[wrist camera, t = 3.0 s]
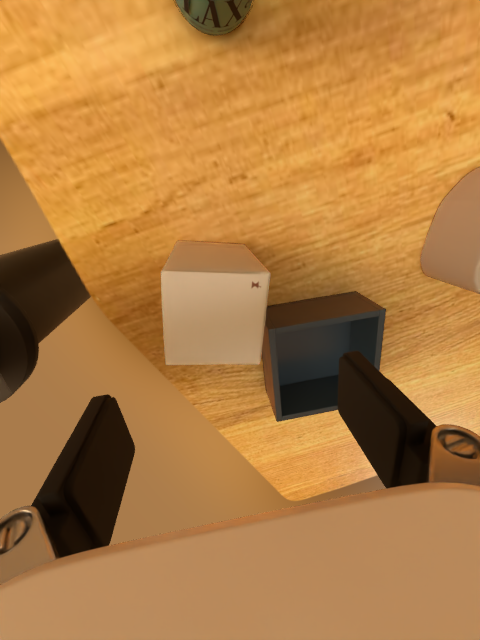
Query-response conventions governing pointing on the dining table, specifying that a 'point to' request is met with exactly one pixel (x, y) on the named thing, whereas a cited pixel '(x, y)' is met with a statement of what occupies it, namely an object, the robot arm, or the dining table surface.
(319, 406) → the dark grey storage bin
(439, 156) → the dining table surface
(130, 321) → the dining table surface
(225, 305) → the white packaging box
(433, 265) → the lumpy-topped squat cylinder
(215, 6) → the beverage bottle
